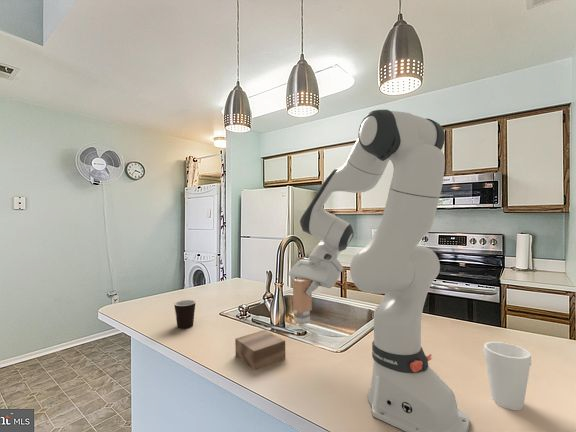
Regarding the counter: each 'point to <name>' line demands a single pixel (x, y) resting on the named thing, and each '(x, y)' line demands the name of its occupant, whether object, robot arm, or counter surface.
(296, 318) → the bath foam
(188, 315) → the coffee mug
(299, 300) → the light wooden block
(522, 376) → the foam cup
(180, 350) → the counter surface
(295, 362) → the counter surface
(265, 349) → the walnut block
